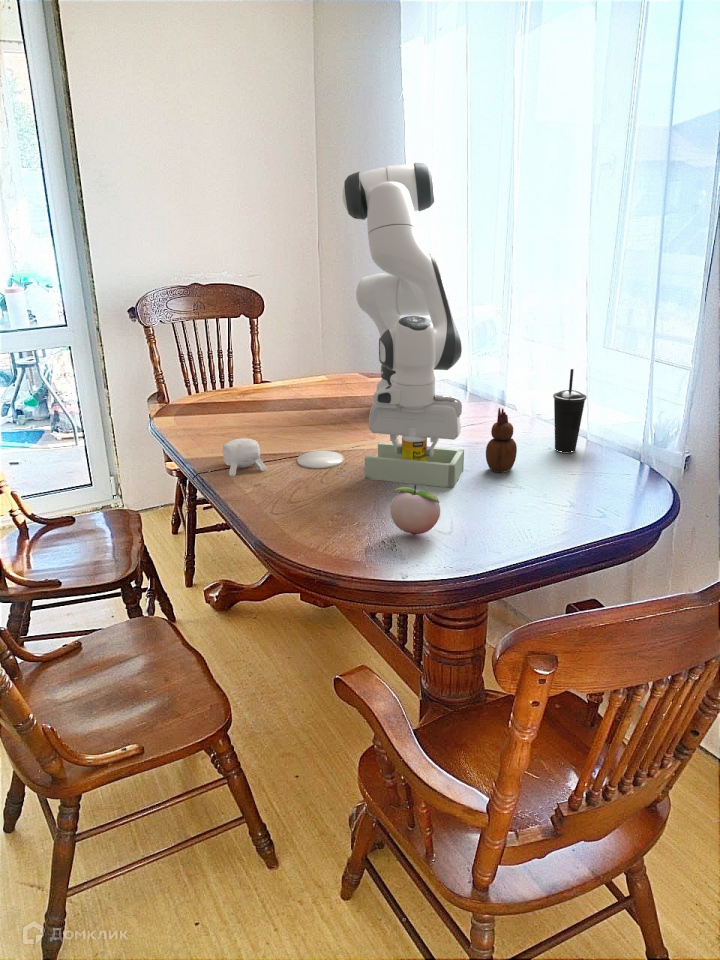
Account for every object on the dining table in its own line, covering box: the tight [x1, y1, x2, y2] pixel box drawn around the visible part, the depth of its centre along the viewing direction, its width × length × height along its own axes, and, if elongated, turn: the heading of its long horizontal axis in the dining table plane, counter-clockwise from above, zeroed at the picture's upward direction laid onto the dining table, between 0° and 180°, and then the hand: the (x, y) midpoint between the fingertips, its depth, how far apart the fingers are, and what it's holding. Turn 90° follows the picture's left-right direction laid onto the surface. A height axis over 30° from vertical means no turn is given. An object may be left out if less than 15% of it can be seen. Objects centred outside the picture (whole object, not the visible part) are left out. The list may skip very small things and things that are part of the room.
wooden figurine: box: [485, 407, 518, 473], centre depth 164 cm, size 7×6×15 cm
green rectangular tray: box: [364, 442, 465, 489], centre depth 164 cm, size 11×20×5 cm, turn 71°
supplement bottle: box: [401, 429, 428, 461], centre depth 163 cm, size 6×6×10 cm
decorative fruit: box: [390, 484, 441, 536], centre depth 134 cm, size 9×8×10 cm
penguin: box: [222, 437, 267, 477], centre depth 168 cm, size 9×8×15 cm
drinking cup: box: [552, 368, 587, 452], centre depth 175 cm, size 8×8×20 cm
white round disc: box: [297, 450, 344, 470], centre depth 175 cm, size 11×11×1 cm
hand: (414, 454), depth 164 cm, fingers closed on supplement bottle, 5 cm apart
